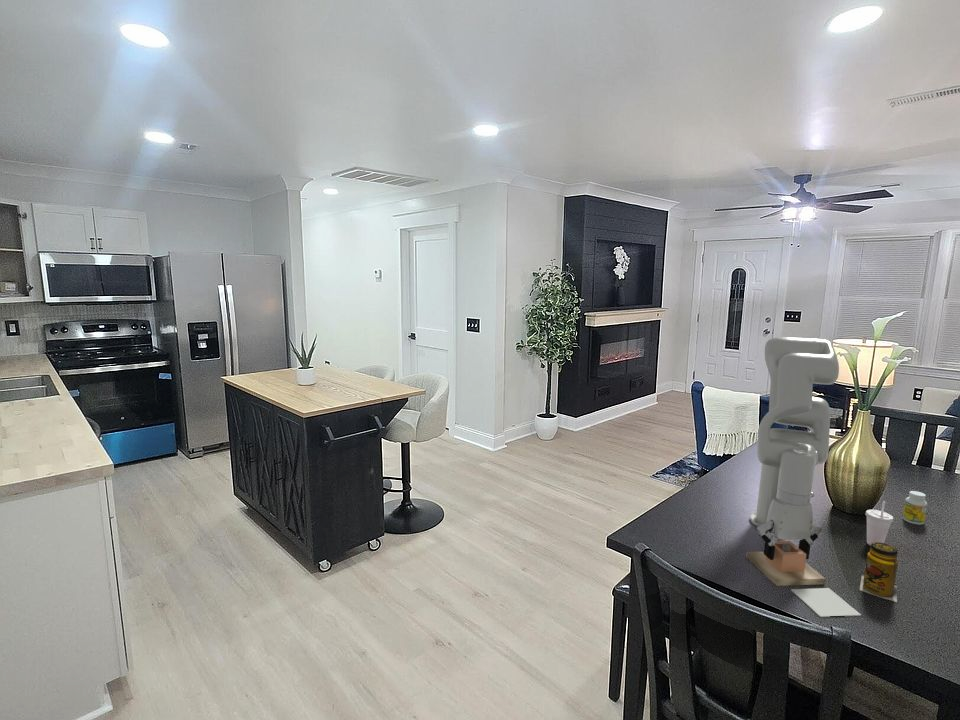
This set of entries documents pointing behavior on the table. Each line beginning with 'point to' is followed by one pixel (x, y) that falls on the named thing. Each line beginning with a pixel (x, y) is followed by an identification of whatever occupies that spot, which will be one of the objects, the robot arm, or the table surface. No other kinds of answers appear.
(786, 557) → the peach open box
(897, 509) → the table surface
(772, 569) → the stand
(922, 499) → the supplement bottle
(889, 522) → the smoothie
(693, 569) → the table surface
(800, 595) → the mat
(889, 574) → the condiment
